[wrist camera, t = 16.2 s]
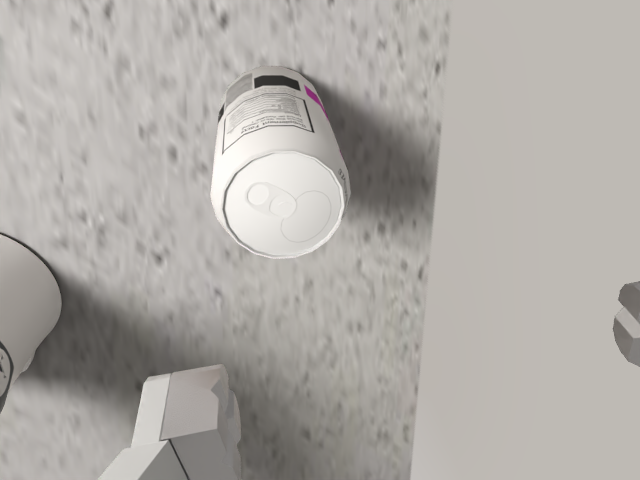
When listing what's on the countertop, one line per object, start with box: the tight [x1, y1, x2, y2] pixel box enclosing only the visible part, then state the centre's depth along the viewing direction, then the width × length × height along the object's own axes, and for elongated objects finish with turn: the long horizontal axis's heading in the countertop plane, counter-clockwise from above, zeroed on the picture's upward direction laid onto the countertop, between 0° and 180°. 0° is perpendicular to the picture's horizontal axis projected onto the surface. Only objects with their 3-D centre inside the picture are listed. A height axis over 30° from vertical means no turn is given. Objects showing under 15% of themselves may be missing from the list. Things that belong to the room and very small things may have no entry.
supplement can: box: [211, 66, 351, 259], centre depth 37 cm, size 8×8×15 cm
